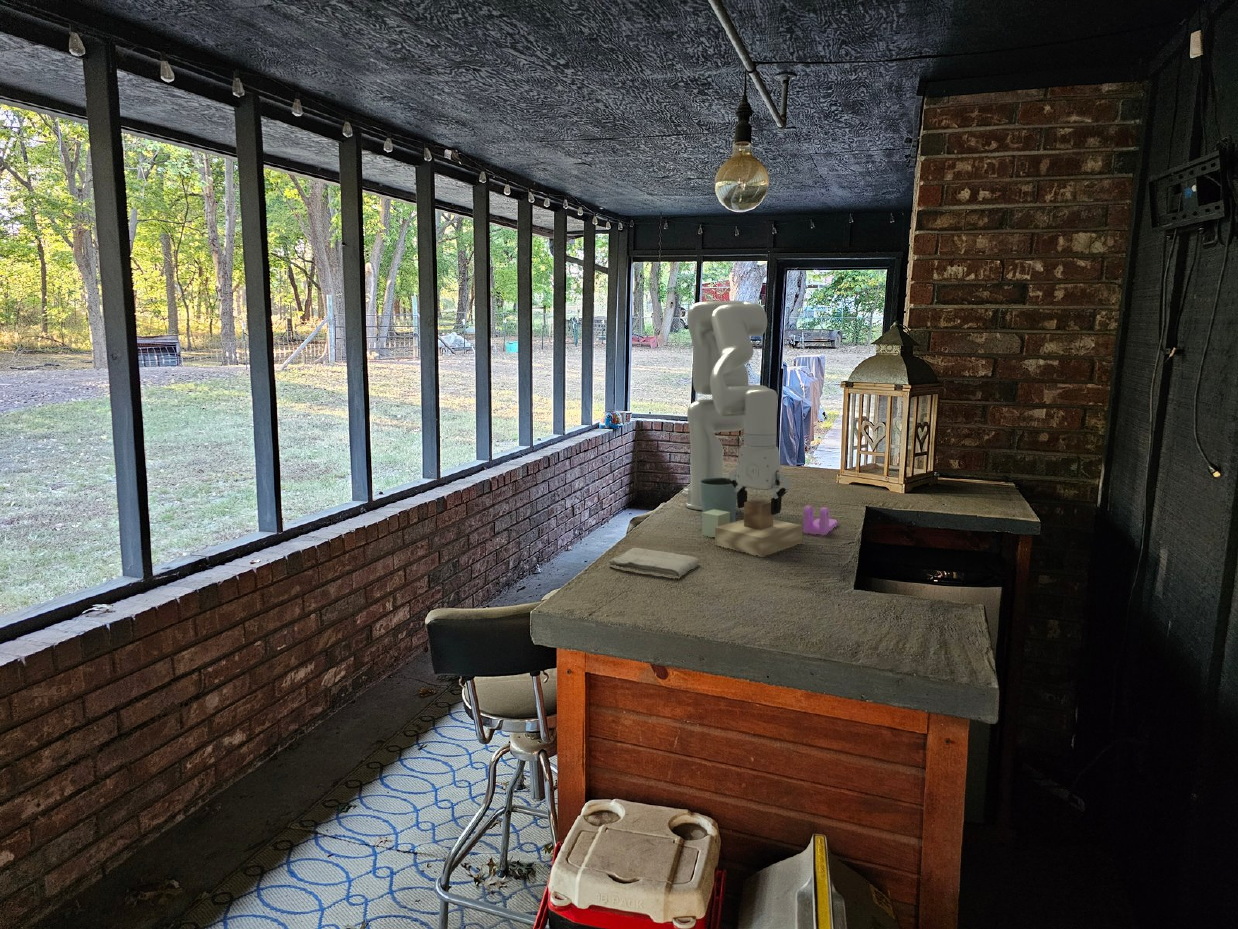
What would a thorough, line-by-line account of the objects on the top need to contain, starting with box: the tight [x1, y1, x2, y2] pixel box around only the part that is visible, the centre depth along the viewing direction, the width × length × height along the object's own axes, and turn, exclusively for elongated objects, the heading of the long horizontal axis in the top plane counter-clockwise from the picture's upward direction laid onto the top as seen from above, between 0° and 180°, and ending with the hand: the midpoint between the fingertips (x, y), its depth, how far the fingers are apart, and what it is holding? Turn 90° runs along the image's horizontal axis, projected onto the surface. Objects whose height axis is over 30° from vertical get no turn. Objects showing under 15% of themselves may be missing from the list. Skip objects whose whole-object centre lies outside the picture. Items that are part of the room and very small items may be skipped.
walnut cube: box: [743, 498, 774, 530], centre depth 188 cm, size 5×5×6 cm
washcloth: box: [608, 547, 700, 577], centre depth 172 cm, size 12×18×3 cm, turn 61°
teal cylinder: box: [700, 476, 737, 523], centre depth 207 cm, size 10×10×12 cm
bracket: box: [802, 505, 838, 536], centre depth 202 cm, size 13×6×7 cm, turn 148°
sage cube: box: [701, 509, 730, 538], centre depth 197 cm, size 5×5×6 cm
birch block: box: [714, 518, 803, 558], centre depth 189 cm, size 14×16×5 cm
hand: (758, 510), depth 188 cm, fingers open, 9 cm apart
